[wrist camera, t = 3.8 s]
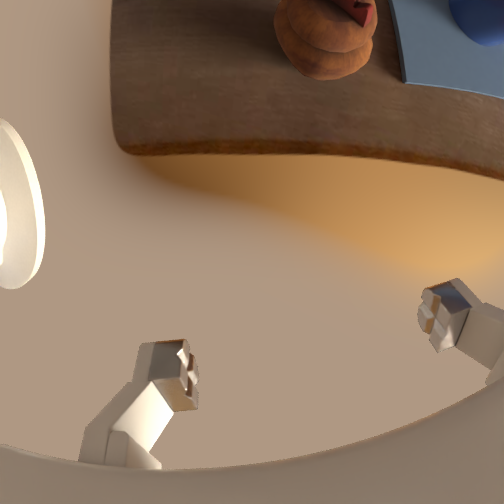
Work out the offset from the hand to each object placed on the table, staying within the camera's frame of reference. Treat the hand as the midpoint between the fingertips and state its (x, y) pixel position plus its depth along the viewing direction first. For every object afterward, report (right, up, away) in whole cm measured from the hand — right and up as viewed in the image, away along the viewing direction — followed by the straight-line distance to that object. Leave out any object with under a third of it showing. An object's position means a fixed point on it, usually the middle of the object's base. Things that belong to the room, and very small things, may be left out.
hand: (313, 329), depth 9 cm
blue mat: (+17, +23, +6) cm, 30 cm away
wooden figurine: (+3, +19, +10) cm, 22 cm away
